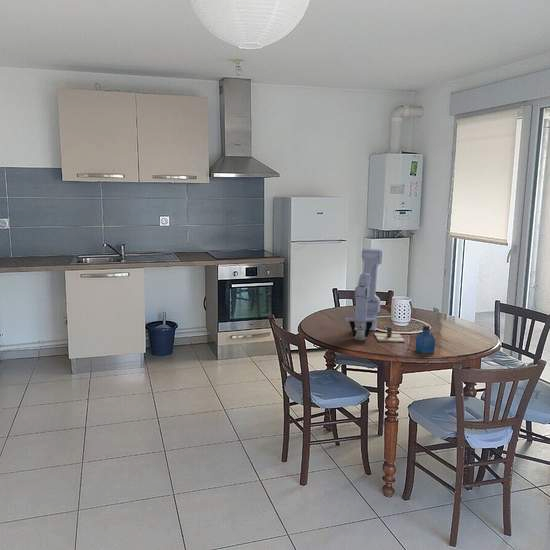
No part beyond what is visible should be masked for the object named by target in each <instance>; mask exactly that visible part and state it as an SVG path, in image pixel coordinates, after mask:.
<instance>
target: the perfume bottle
mask: <svg viewBox="0 0 550 550" xmlns="http://www.w3.org/2000/svg"><path fill="white" fill-rule="evenodd" d="M430 327H431V326H429V325H422V328H421V329H422V330H421V331H422V332H421V331H420V332H419V333H418V334H417V335H416V337H415V349H416V350H415V351H417V350H418V351H417V352H419V353H421V354H433V353H432V352H434V353H435V347H436V346H435V345H436V339H435V337H434V335H433V334H432V333H430V332H431V328H430Z"/></svg>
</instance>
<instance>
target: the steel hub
mask: <svg viewBox="0 0 550 550" xmlns="http://www.w3.org/2000/svg"><path fill="white" fill-rule="evenodd" d="M353 338H354V340H355V339H356V341H365V340H366V339H367V337H366V329H364V328H362V327H355V337H353Z"/></svg>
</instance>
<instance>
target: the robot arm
mask: <svg viewBox="0 0 550 550" xmlns="http://www.w3.org/2000/svg"><path fill="white" fill-rule="evenodd" d="M361 259H362V262H363V270H362V273H361V274H360V275H359V279H358V283H357V286H356V287H355V290H354V296H355V297H354V300H355V315H354V316H353V317H346V318H345V321H346V323H348V324H349V325H350V329H351V332H352V337H353V338H354V337H355V328H356V323H362V324H360V328H364V329H366V338H368V337H369V332H370V331H376V330H378V331H379V329H378V328H377V321H378V320H377V318H378V314H379V312H380V311H381V298H380V297H379V296H378V295H376V294H377V293H376V289H377V275H378V267H379V265H381V264H382V263H383V262H382V261H383V250H382V249H380V248H365V247H364V248H362V251H361Z"/></svg>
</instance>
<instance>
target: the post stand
mask: <svg viewBox="0 0 550 550" xmlns="http://www.w3.org/2000/svg"><path fill="white" fill-rule="evenodd" d="M386 328H387V329H386V332H384V333H383V332H374V333H373V335H375V336H374V337H375V339H376V341H377V342H378V343H397V342H406V341H405V339H404V338H403V336H402V335H401V333H396V332H395V333H393V327H392V326H387V327H386Z"/></svg>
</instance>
